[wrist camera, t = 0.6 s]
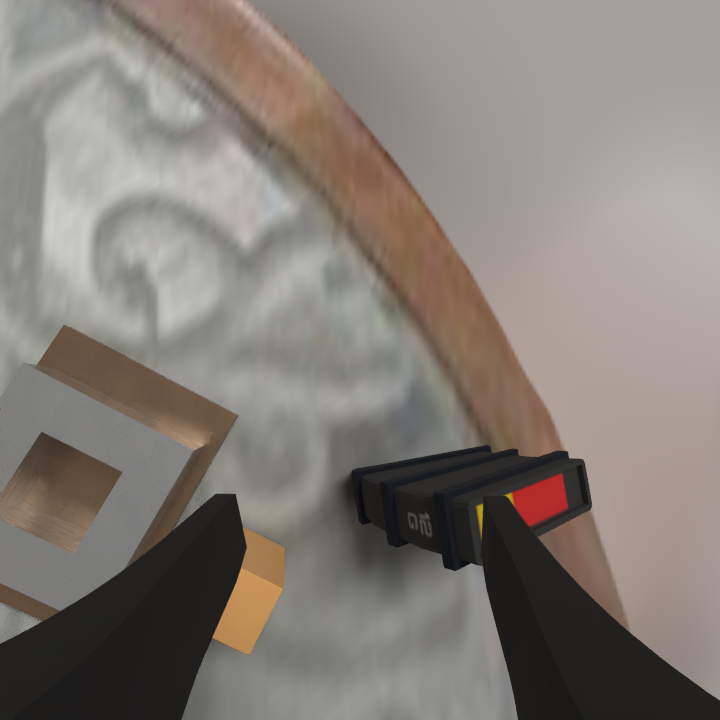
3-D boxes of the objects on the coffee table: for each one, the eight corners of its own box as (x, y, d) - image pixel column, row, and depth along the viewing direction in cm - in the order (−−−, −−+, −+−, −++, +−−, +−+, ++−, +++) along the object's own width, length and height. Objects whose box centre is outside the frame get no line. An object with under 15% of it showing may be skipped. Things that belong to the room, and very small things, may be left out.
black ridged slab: (311, 474, 33) (460, 496, 21) (436, 443, 41) (599, 446, 28) (317, 525, 33) (473, 578, 20) (442, 484, 40) (610, 505, 28)
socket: (108, 640, 31) (79, 679, 27) (-81, 553, 30) (-145, 579, 25) (238, 415, 34) (230, 417, 30) (70, 327, 33) (36, 315, 28)
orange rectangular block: (258, 595, 33) (249, 655, 25) (210, 572, 33) (185, 625, 25) (284, 545, 34) (283, 588, 26) (238, 522, 33) (222, 558, 25)
